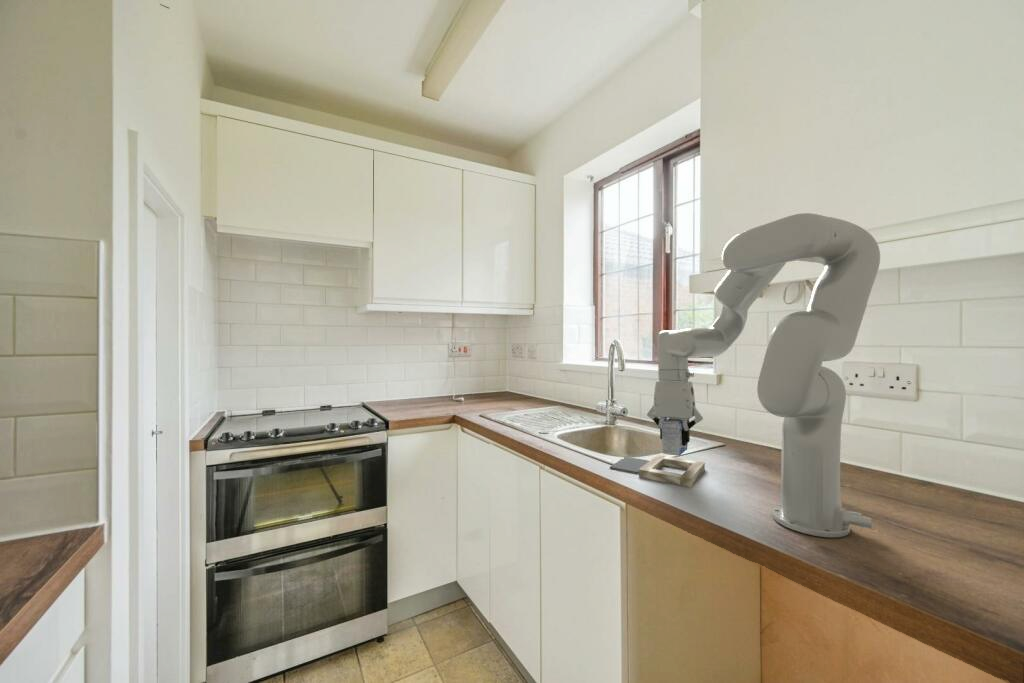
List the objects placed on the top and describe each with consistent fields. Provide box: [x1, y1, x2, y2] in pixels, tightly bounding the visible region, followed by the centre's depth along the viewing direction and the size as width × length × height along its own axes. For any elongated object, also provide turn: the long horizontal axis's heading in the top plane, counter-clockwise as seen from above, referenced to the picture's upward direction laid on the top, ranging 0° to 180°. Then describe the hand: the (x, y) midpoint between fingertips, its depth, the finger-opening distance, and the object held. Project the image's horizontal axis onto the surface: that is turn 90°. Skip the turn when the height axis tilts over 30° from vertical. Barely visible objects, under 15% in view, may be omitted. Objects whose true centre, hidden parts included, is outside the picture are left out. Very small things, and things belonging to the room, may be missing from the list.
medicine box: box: [661, 418, 688, 457], centre depth 112 cm, size 8×4×9 cm, turn 143°
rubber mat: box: [609, 456, 650, 475], centre depth 120 cm, size 8×12×1 cm, turn 144°
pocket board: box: [638, 454, 706, 488], centre depth 113 cm, size 13×16×2 cm
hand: (674, 442), depth 112 cm, fingers closed on medicine box, 4 cm apart
